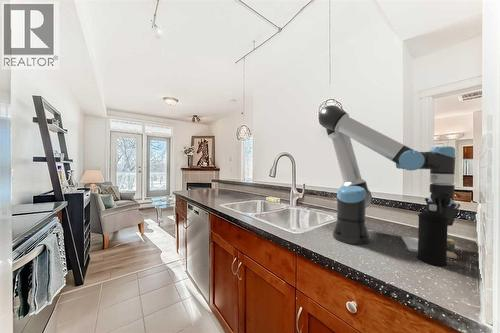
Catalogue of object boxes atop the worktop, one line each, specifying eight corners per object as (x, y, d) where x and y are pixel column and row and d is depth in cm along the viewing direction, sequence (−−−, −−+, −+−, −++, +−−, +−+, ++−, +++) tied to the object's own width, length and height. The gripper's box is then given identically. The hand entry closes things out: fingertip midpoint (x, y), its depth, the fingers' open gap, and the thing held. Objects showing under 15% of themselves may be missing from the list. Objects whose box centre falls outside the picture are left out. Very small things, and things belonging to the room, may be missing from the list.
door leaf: (432, 254, 79) (432, 245, 78) (421, 241, 92) (421, 233, 92) (459, 259, 75) (460, 249, 75) (444, 244, 88) (444, 236, 88)
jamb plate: (409, 250, 82) (409, 248, 82) (401, 238, 95) (401, 236, 95) (432, 254, 79) (432, 252, 78) (421, 241, 92) (421, 238, 92)
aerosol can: (454, 267, 69) (455, 207, 68) (425, 265, 70) (427, 206, 70) (436, 256, 77) (438, 202, 77) (411, 254, 79) (412, 202, 78)
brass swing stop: (450, 245, 84) (450, 236, 84) (455, 249, 80) (455, 239, 80) (418, 241, 88) (418, 232, 88) (422, 245, 84) (422, 235, 84)
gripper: (419, 182, 92) (418, 235, 93) (449, 185, 79) (447, 247, 80) (435, 182, 92) (434, 234, 93) (467, 185, 79) (465, 246, 80)
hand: (440, 240), depth 86 cm, fingers closed
